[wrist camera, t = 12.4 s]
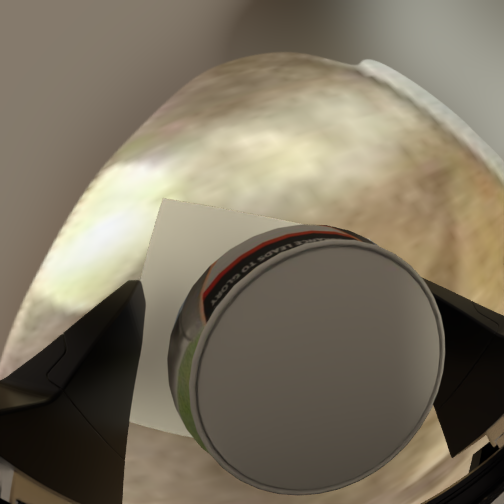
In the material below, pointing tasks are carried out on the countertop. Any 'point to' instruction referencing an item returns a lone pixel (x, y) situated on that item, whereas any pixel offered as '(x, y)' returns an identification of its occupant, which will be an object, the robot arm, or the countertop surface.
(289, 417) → the beverage can
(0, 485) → the robot arm
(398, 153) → the countertop surface
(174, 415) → the cream mat
